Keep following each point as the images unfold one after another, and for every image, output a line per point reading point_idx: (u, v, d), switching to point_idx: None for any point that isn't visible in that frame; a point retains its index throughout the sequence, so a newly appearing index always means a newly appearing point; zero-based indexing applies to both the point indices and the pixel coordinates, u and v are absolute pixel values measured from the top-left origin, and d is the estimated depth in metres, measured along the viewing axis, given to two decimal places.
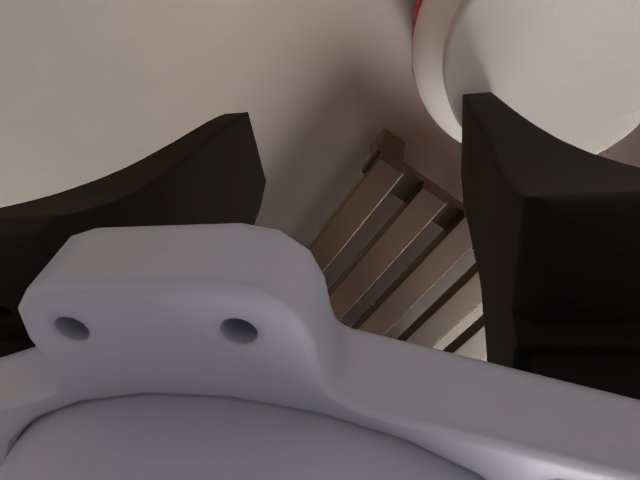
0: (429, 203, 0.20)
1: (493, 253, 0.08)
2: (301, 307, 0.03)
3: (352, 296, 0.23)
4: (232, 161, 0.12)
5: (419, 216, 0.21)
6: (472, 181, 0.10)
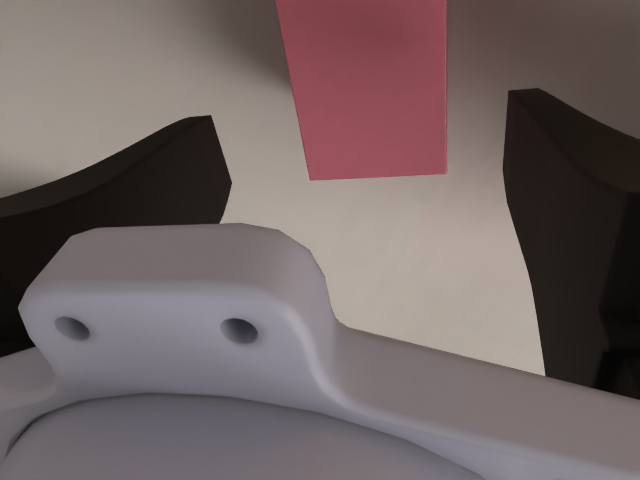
0: None
1: (560, 252, 0.08)
2: (301, 307, 0.03)
3: None
4: (193, 164, 0.12)
5: None
6: (522, 179, 0.10)
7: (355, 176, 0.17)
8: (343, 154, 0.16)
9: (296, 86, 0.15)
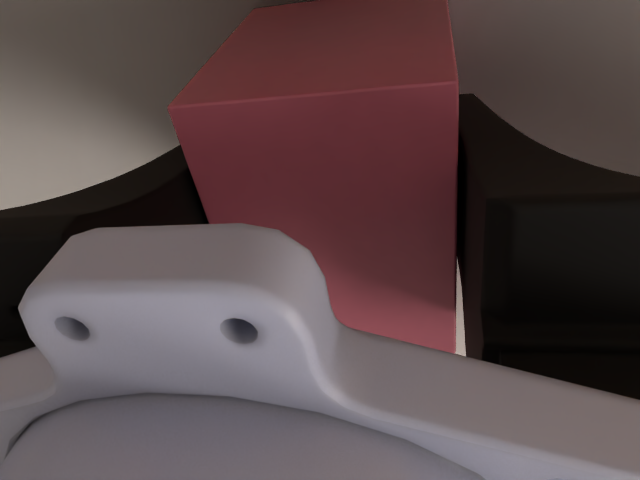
0: None
1: (468, 253, 0.08)
2: (301, 307, 0.03)
3: None
4: None
5: None
6: None
7: None
8: None
9: None
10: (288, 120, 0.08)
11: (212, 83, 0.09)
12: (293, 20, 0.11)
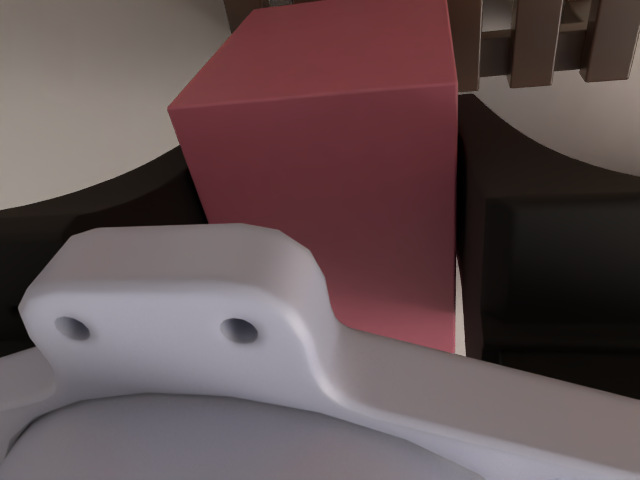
0: None
1: (468, 253, 0.08)
2: (300, 307, 0.03)
3: None
4: None
5: None
6: None
7: None
8: None
9: None
10: (287, 121, 0.08)
11: (212, 84, 0.09)
12: (293, 21, 0.11)
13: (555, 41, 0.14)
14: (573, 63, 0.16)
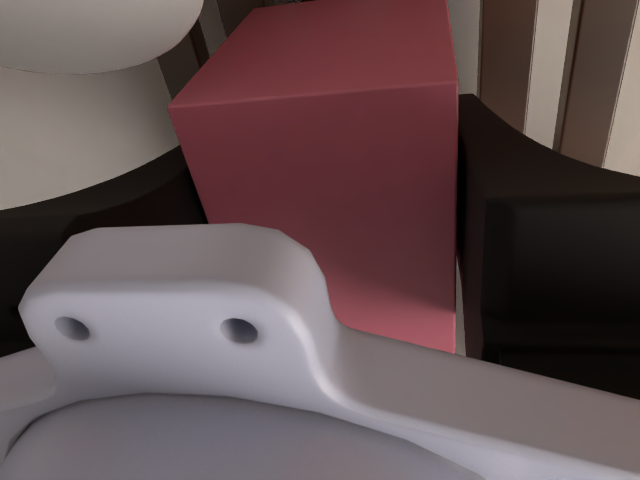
0: None
1: (468, 253, 0.08)
2: (301, 307, 0.03)
3: None
4: None
5: None
6: None
7: None
8: None
9: None
10: (288, 119, 0.08)
11: (212, 83, 0.09)
12: (293, 20, 0.11)
13: None
14: None
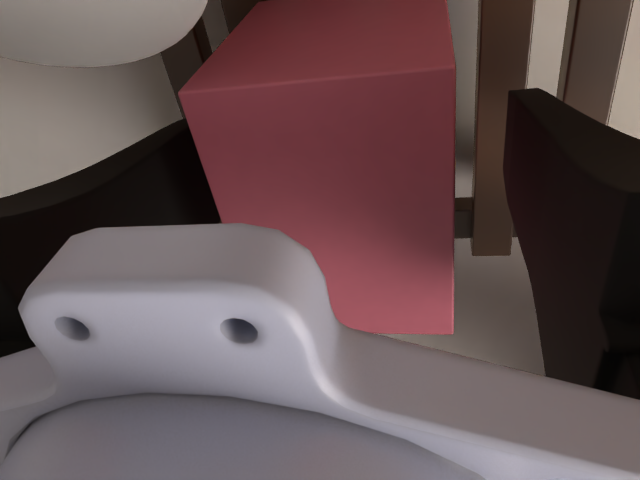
0: None
1: (560, 252, 0.08)
2: (301, 307, 0.03)
3: None
4: (192, 163, 0.12)
5: None
6: (522, 178, 0.10)
7: None
8: None
9: (227, 221, 0.10)
10: (293, 104, 0.08)
11: (220, 71, 0.09)
12: (297, 12, 0.11)
13: (511, 223, 0.16)
14: None
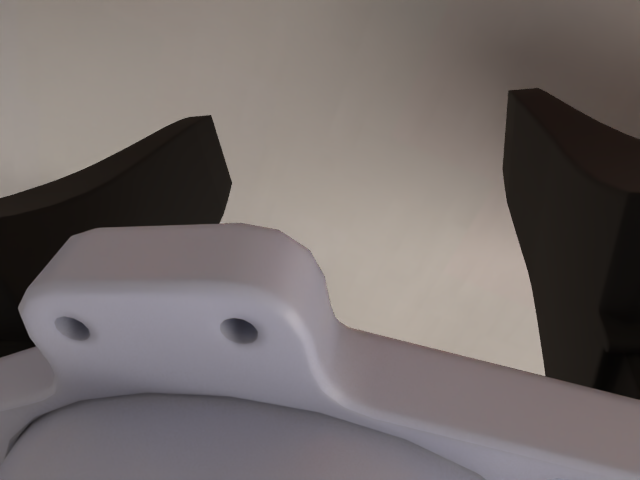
0: None
1: (560, 252, 0.08)
2: (301, 307, 0.03)
3: None
4: (192, 163, 0.12)
5: None
6: (522, 179, 0.10)
7: None
8: None
9: None
10: None
11: None
12: None
13: None
14: None
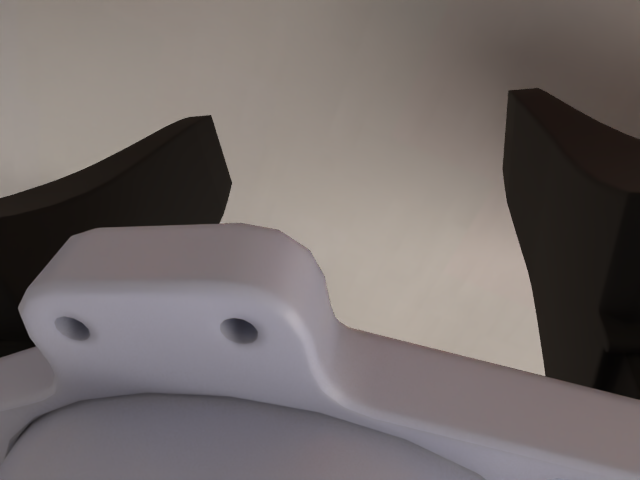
0: None
1: (560, 252, 0.08)
2: (301, 307, 0.03)
3: None
4: (192, 163, 0.12)
5: None
6: (522, 179, 0.10)
7: None
8: None
9: None
10: None
11: None
12: None
13: None
14: None
